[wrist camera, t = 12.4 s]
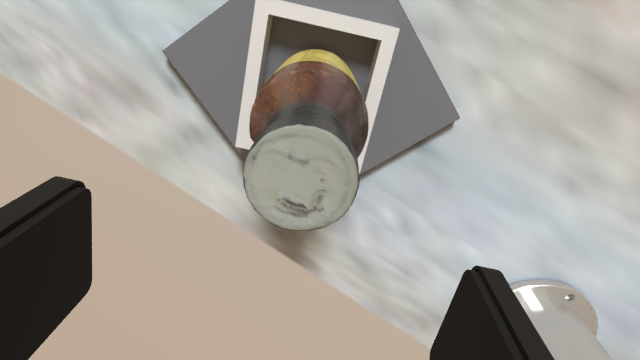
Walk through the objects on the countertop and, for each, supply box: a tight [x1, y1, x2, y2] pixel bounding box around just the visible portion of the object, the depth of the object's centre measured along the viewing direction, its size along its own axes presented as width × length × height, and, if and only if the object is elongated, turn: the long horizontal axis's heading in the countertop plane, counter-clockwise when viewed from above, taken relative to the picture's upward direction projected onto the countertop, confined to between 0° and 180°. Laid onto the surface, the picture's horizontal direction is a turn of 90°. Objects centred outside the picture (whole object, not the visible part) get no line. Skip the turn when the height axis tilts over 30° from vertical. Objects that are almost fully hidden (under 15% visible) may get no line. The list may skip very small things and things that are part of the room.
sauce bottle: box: [243, 49, 369, 231], centre depth 23 cm, size 7×6×20 cm
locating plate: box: [162, 0, 460, 175], centre depth 31 cm, size 17×17×4 cm
